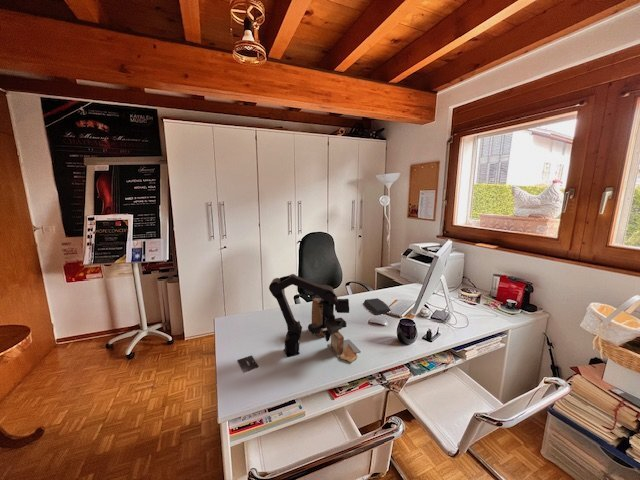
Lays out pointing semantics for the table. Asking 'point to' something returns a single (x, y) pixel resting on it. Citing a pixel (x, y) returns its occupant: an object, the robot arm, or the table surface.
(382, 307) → the external hard drive
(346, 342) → the mat
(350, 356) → the shard
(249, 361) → the solid state drive
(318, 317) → the brown oblong lump
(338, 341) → the slab
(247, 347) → the table surface
